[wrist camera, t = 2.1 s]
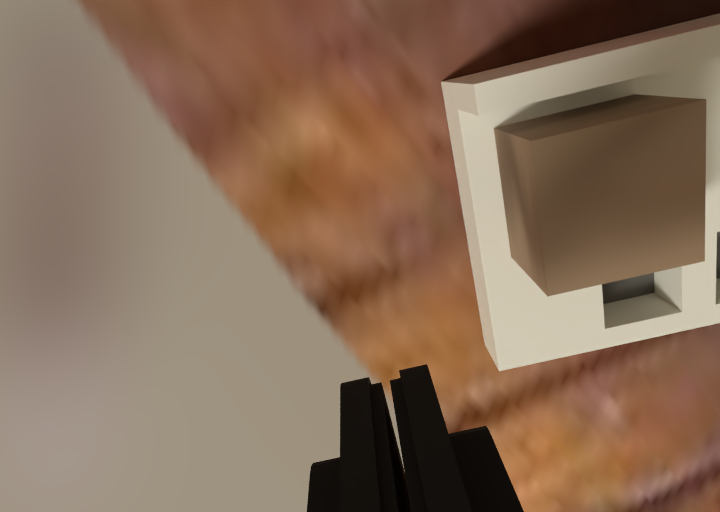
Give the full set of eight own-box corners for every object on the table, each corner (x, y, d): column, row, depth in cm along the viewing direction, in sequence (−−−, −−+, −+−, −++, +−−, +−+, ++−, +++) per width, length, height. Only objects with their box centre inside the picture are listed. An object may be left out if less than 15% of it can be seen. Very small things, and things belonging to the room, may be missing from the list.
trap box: (440, 81, 21) (473, 84, 16) (874, -25, 20) (1055, -58, 15) (484, 343, 26) (521, 412, 20) (841, 264, 25) (973, 314, 20)
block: (493, 128, 19) (530, 141, 16) (634, 94, 19) (706, 99, 15) (511, 257, 21) (547, 296, 18) (639, 227, 21) (704, 261, 17)
